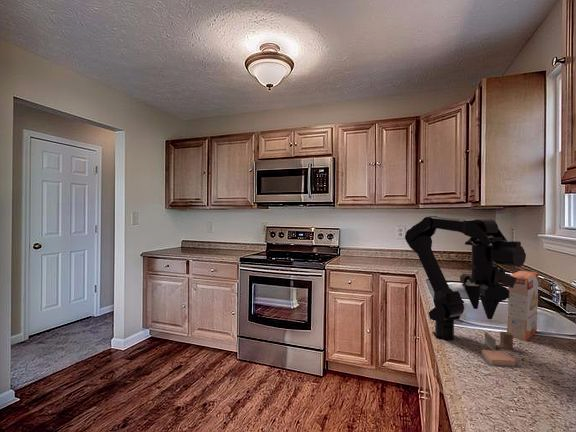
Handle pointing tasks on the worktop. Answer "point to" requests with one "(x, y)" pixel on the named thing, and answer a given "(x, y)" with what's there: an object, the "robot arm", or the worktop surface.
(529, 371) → the worktop surface
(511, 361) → the glazed tile
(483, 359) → the slate mat
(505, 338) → the walnut turner
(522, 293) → the cracker box
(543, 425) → the worktop surface
